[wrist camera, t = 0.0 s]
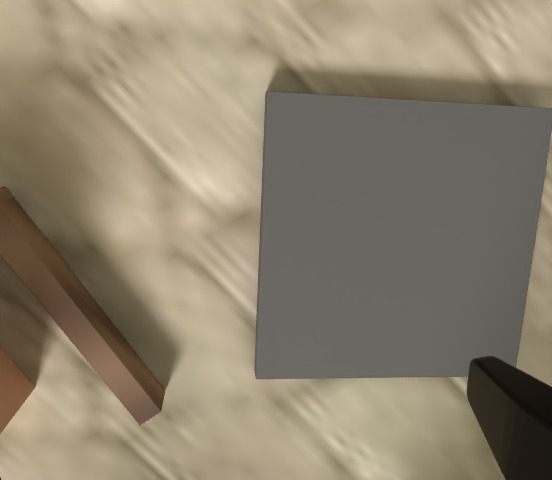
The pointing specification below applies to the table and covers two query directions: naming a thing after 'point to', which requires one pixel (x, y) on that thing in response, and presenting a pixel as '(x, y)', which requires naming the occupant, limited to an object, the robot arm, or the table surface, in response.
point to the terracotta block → (11, 389)
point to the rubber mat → (394, 234)
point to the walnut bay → (76, 311)
